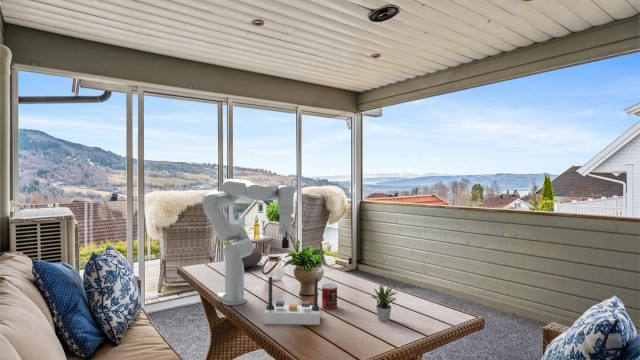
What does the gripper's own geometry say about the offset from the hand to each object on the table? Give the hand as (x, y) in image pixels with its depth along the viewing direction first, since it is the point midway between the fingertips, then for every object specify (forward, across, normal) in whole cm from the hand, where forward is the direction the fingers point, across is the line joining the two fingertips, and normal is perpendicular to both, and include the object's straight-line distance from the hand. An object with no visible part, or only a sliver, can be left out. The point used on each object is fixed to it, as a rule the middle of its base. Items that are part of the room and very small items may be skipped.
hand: (285, 247), depth 180 cm
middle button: (+26, +11, +5) cm, 28 cm away
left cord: (+26, +11, -6) cm, 29 cm away
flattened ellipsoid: (+31, -84, -39) cm, 98 cm away
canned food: (+31, -6, +22) cm, 39 cm away
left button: (+24, +11, -1) cm, 27 cm away
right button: (+24, +11, +11) cm, 29 cm away
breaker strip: (+31, +11, +5) cm, 33 cm away
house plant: (+31, +10, +47) cm, 57 cm away
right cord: (+26, +11, +16) cm, 32 cm away
